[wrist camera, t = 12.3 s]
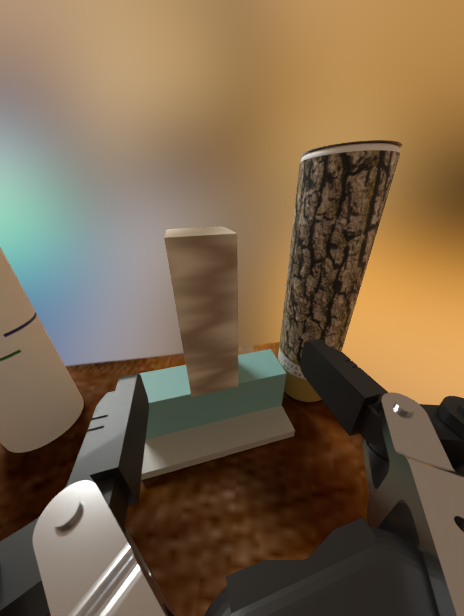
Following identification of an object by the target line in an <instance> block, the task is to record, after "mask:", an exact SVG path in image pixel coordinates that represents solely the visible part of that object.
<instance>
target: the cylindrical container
mask: <svg viewBox="0 0 464 616" xmlns="http://www.w3.org/2000/svg"><path fill="white" fill-rule="evenodd" d="M83 407H84V401H83V398H82V396H81V395H80V393H79V391H78V389H77V387H76V385H75V384H74V382H73V380H72V378H71V376H70V374H69V373H68V371H67V369H66V367H65V365H64V363H63V362H62V360H61V358H60V356H59V354H58V352H57V351H56V349H55V347H54V345H53V343H52V341H51V339H50V338H49V336H48V334H47V332H46V330H45V329H44V327H43V325H42V323H41V321H40V319H39V317H38V316H37V314H36V313H35V310H34V308H33V306H32V304H31V303H30V301H29V299H28V297H27V295H26V293H25V292H24V290H23V288H22V286H21V284H20V283H19V281H18V279H17V277H16V275H15V273H14V272H13V270H12V268H11V266H10V264H9V262H8V260H7V259H6V257H5V255H4V253H3V251H2V249H1V248H0V443H1V444H2V445H3V446H4V447H5V448H6V449H7V450H9V451H11V452H14V453H22V452H28V451H32V450H35V449H38V448H40V447H42V446H44V445H46V444H48V443H50V442H52V441H53V440H55V439H56V438H58V437H59V436H61V435H62V434H63V433H64V432H66V431H67V430H68V429H69V428H70V427H71V426H72V425H73V424H74V423H75V422H76V420H77V419H78V418H79V416H80V414H81V412H82V410H83Z"/></svg>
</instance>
